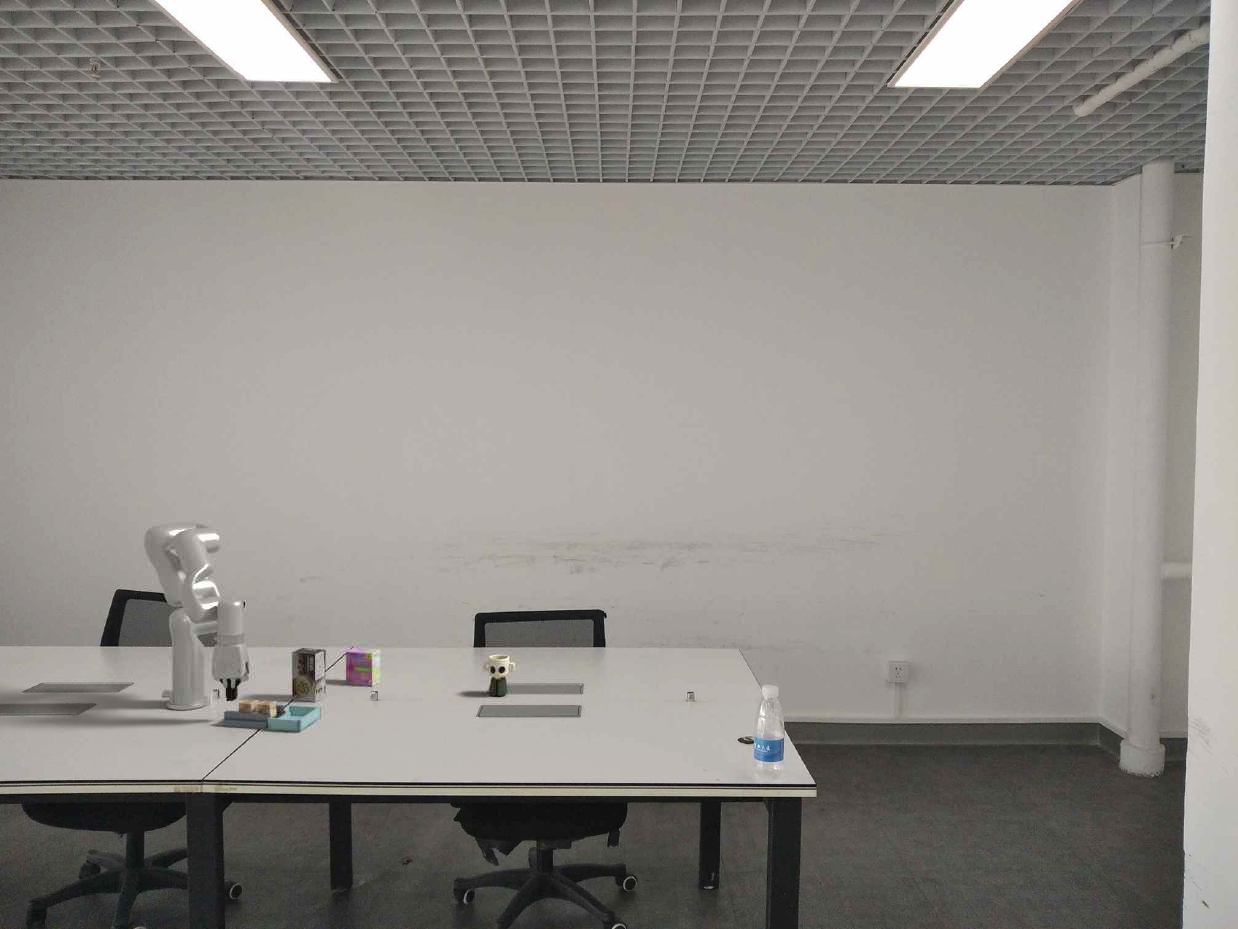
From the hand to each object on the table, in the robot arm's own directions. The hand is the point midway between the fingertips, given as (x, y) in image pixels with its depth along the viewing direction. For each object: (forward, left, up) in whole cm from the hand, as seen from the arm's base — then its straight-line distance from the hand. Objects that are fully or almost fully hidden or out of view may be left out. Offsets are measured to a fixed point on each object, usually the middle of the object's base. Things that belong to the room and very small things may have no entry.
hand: (231, 700), depth 287 cm
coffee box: (+12, +26, -7) cm, 30 cm away
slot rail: (+7, 0, -6) cm, 10 cm away
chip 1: (+5, 0, -4) cm, 7 cm away
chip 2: (+11, 0, -4) cm, 12 cm away
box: (+22, +47, -7) cm, 53 cm away
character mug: (+72, +43, -7) cm, 84 cm away
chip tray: (+20, 0, -6) cm, 21 cm away
